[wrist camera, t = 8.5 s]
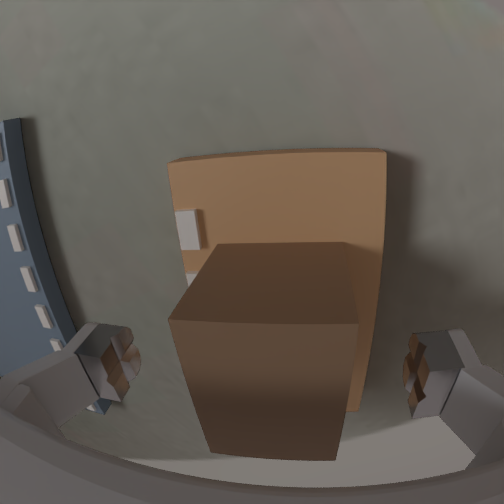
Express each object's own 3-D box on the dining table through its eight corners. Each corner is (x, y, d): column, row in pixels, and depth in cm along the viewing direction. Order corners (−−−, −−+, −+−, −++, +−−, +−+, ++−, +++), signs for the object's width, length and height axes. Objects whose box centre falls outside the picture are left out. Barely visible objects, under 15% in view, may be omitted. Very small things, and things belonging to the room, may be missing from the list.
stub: (221, 390, 14) (191, 479, 9) (179, 158, 10) (86, 200, 5) (356, 394, 13) (361, 490, 8) (378, 148, 9) (440, 183, 4)
